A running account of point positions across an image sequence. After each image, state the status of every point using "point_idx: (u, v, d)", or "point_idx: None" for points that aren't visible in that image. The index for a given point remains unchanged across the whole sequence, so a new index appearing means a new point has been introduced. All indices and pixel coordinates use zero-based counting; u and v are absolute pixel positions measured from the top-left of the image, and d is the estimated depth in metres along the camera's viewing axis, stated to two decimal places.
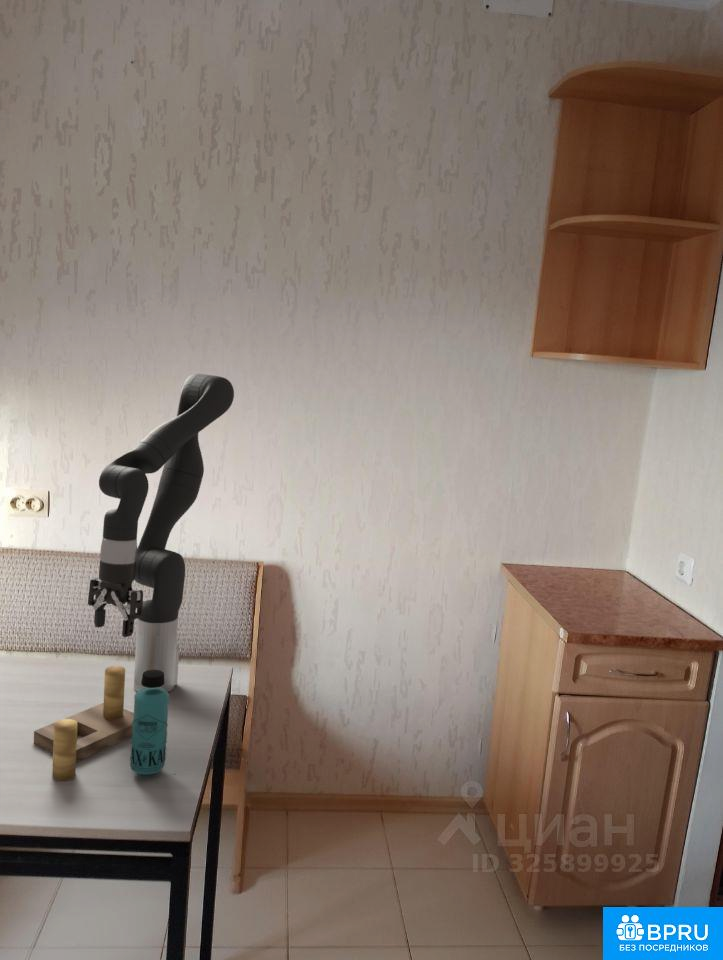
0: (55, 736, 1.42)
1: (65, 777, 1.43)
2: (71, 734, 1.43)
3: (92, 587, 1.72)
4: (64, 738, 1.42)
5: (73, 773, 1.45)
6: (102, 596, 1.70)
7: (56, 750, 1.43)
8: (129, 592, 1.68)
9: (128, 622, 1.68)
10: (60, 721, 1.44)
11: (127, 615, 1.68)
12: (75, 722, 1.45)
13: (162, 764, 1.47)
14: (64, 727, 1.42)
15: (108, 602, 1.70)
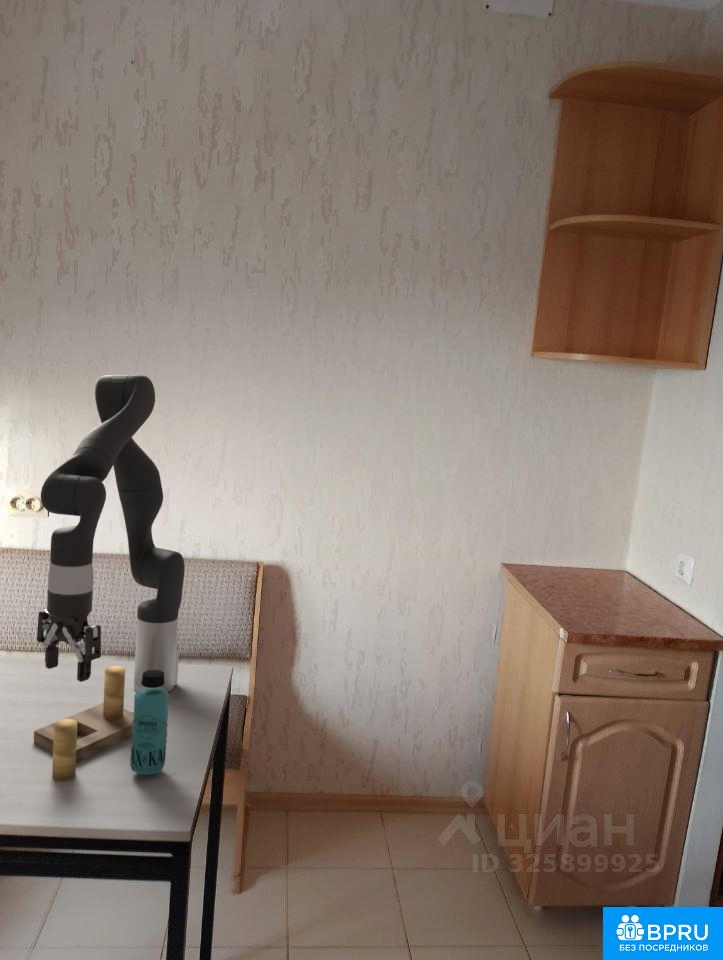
0: (55, 736, 1.42)
1: (65, 777, 1.43)
2: (71, 734, 1.43)
3: (41, 621, 1.43)
4: (64, 738, 1.42)
5: (73, 773, 1.45)
6: (52, 632, 1.41)
7: (55, 750, 1.43)
8: (84, 628, 1.38)
9: (84, 664, 1.39)
10: (60, 721, 1.44)
11: (82, 656, 1.38)
12: (75, 722, 1.45)
13: (162, 764, 1.47)
14: (64, 727, 1.42)
15: (60, 639, 1.41)
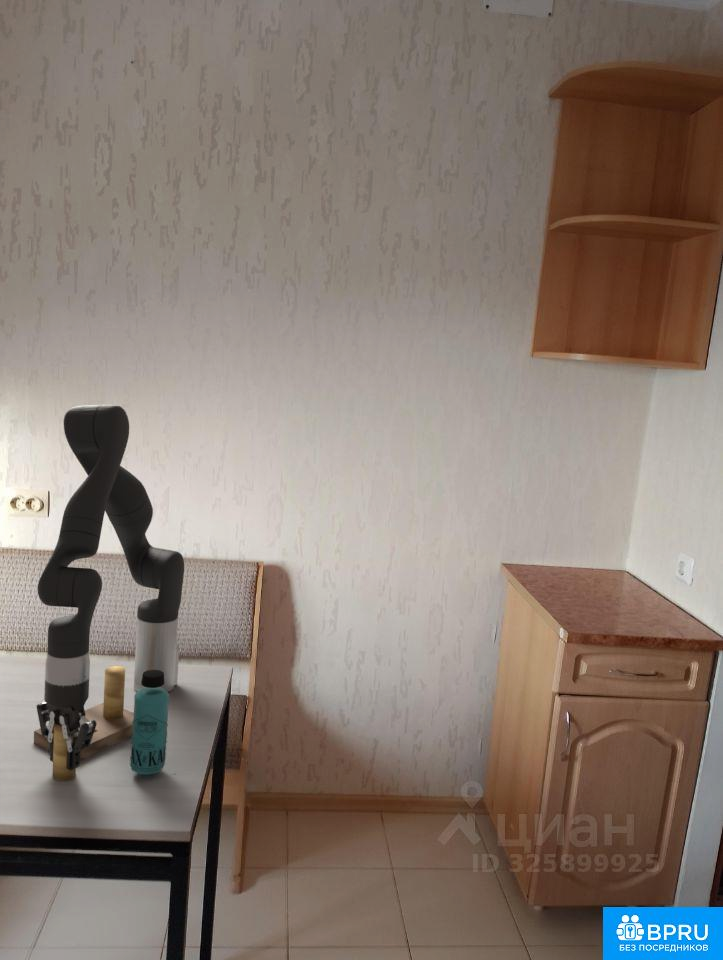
0: (55, 736, 1.42)
1: (65, 777, 1.43)
2: None
3: (40, 713, 1.45)
4: None
5: (73, 773, 1.45)
6: (52, 722, 1.43)
7: (56, 750, 1.43)
8: (80, 720, 1.41)
9: (73, 753, 1.42)
10: None
11: (72, 747, 1.42)
12: None
13: (162, 764, 1.47)
14: None
15: (61, 726, 1.43)
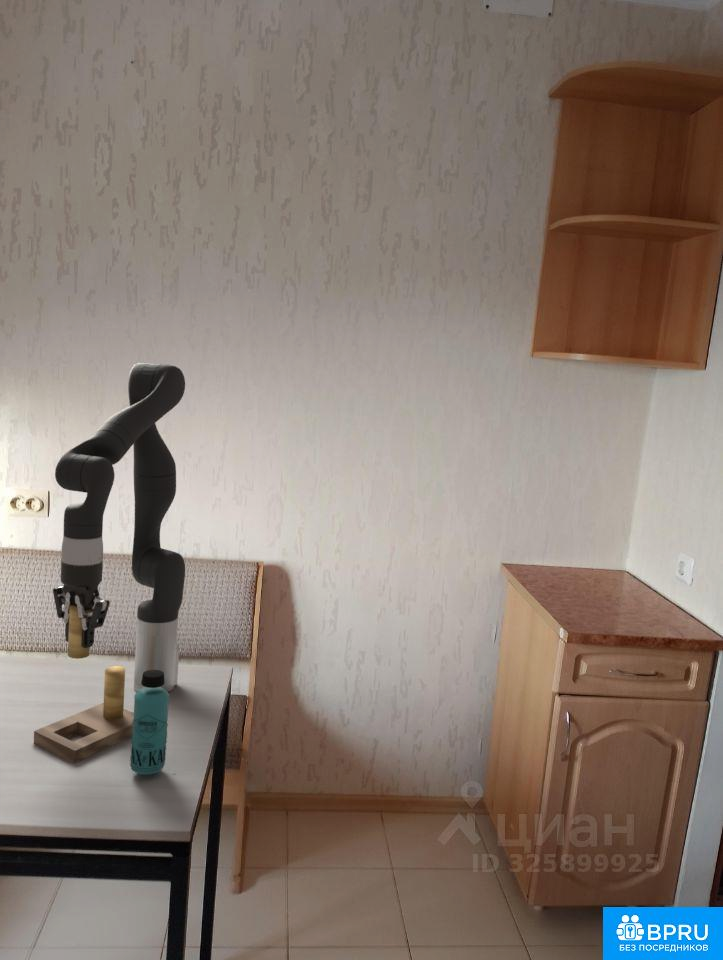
0: (71, 616, 1.51)
1: (80, 655, 1.52)
2: None
3: (57, 596, 1.54)
4: None
5: (87, 652, 1.54)
6: (67, 602, 1.52)
7: (71, 629, 1.52)
8: (95, 599, 1.50)
9: (87, 632, 1.51)
10: None
11: (87, 625, 1.51)
12: None
13: (162, 764, 1.47)
14: None
15: None
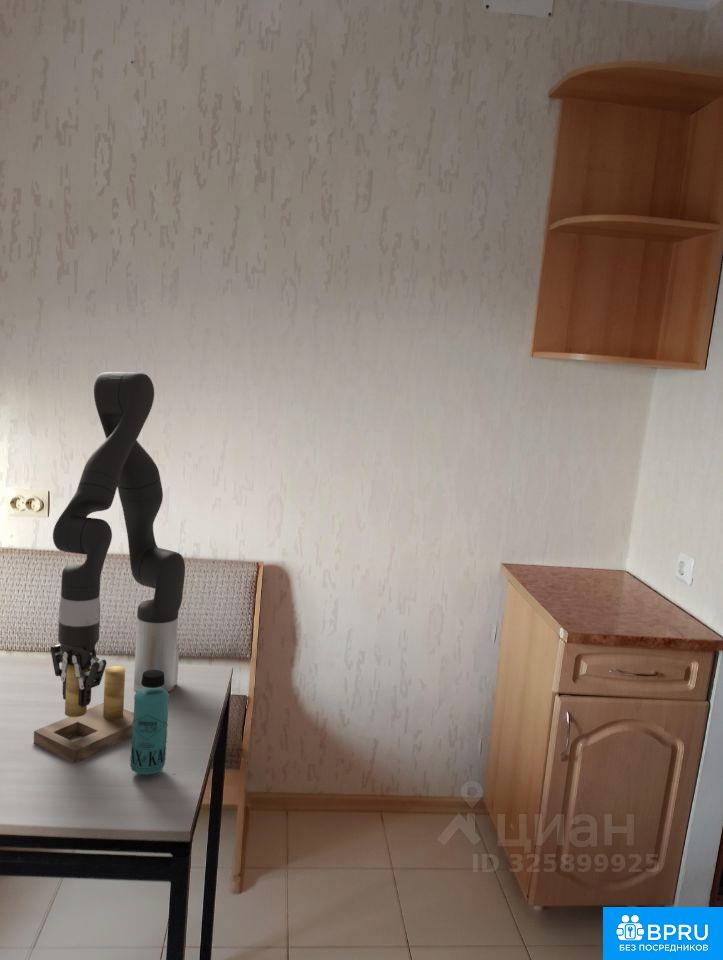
0: (68, 675, 1.53)
1: (77, 713, 1.54)
2: None
3: (54, 655, 1.56)
4: (76, 677, 1.53)
5: (84, 710, 1.55)
6: (65, 662, 1.54)
7: (68, 688, 1.53)
8: (91, 659, 1.51)
9: (84, 691, 1.53)
10: None
11: (84, 685, 1.52)
12: None
13: (162, 764, 1.47)
14: None
15: None
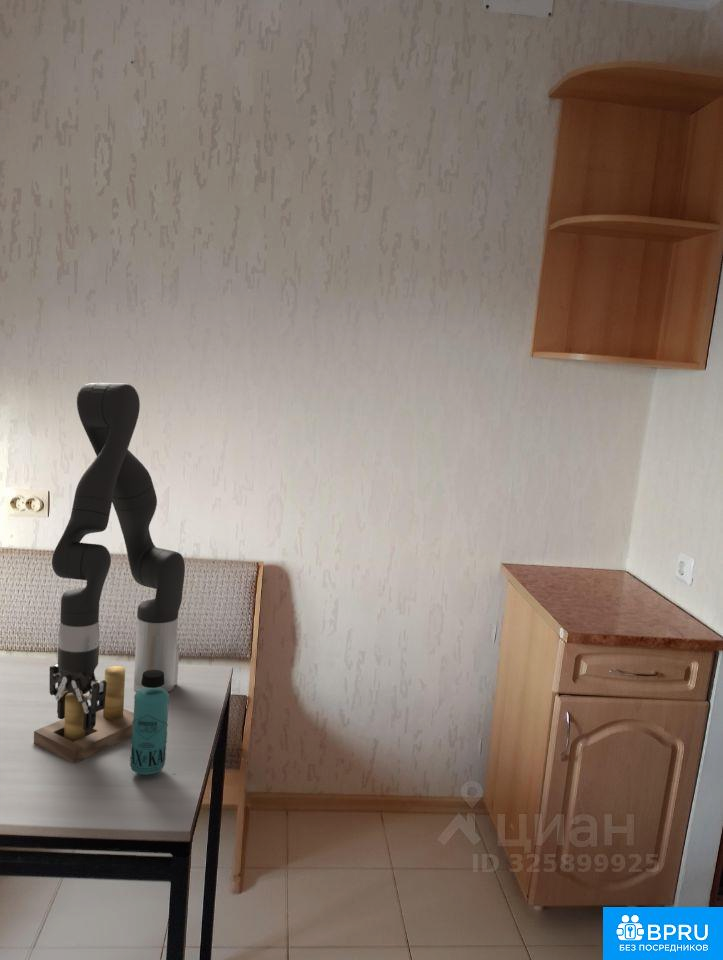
0: (66, 707, 1.54)
1: None
2: (81, 705, 1.54)
3: (52, 675, 1.57)
4: (75, 708, 1.54)
5: None
6: (63, 685, 1.55)
7: (67, 720, 1.54)
8: (91, 682, 1.52)
9: (89, 715, 1.53)
10: (71, 693, 1.56)
11: (88, 708, 1.52)
12: (84, 694, 1.56)
13: (162, 764, 1.47)
14: (74, 698, 1.54)
15: (70, 691, 1.55)
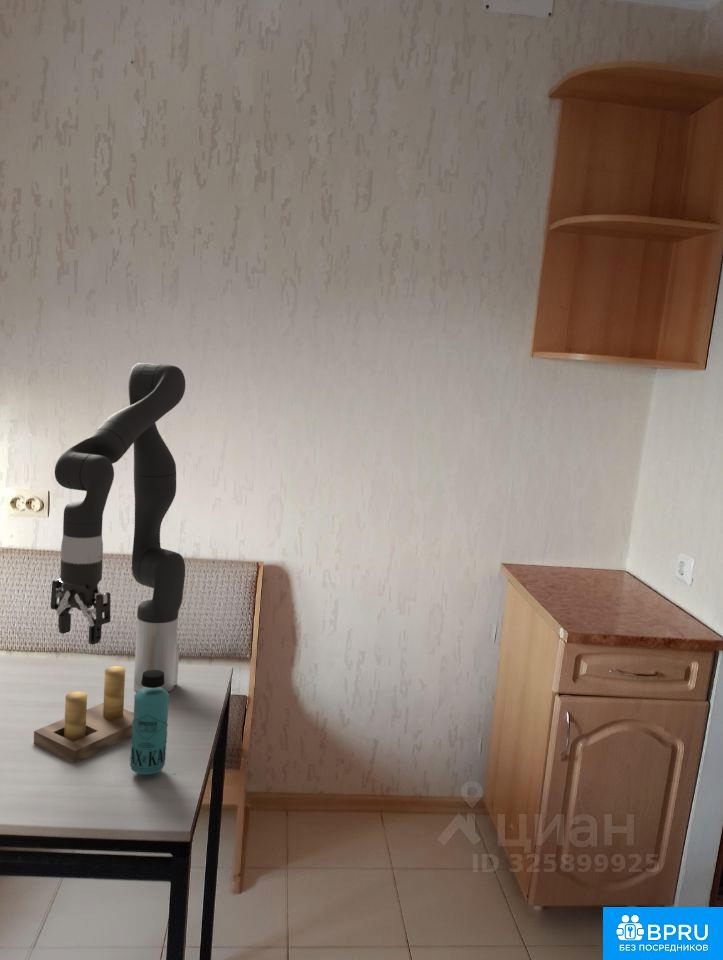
0: (67, 706, 1.54)
1: None
2: (82, 705, 1.54)
3: (54, 589, 1.54)
4: (75, 708, 1.54)
5: None
6: (65, 599, 1.52)
7: (67, 720, 1.54)
8: (95, 595, 1.50)
9: (95, 628, 1.50)
10: (71, 693, 1.56)
11: (93, 620, 1.50)
12: (85, 694, 1.56)
13: (162, 764, 1.47)
14: (75, 698, 1.54)
15: (72, 606, 1.52)
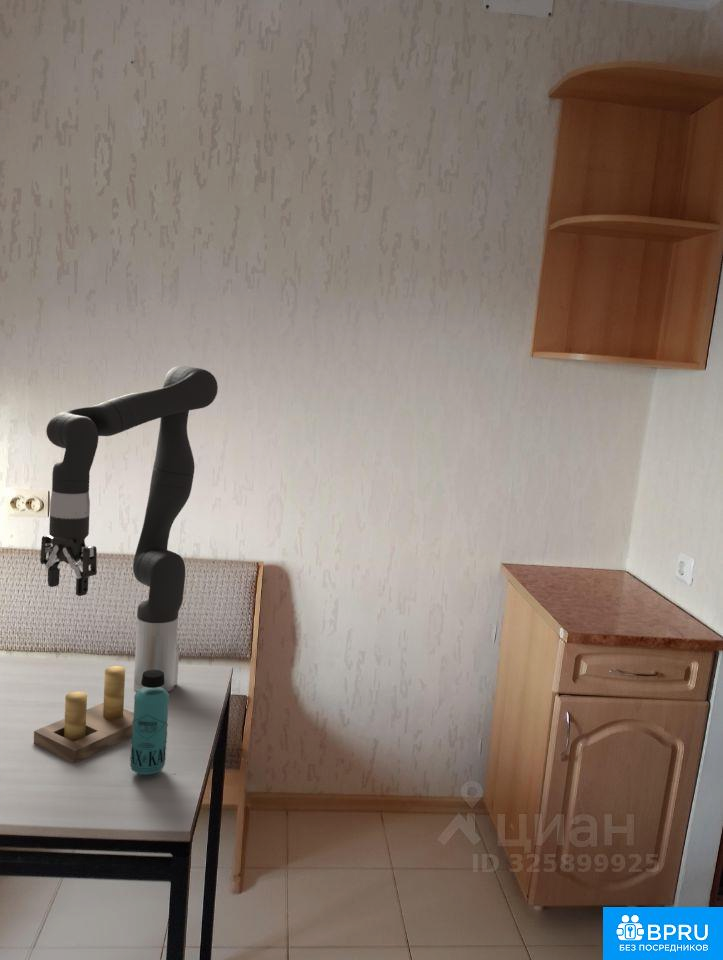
0: (66, 707, 1.54)
1: None
2: (82, 705, 1.54)
3: (44, 544, 1.63)
4: (75, 708, 1.54)
5: None
6: (54, 553, 1.60)
7: (67, 720, 1.54)
8: (82, 548, 1.58)
9: (82, 580, 1.58)
10: (71, 693, 1.56)
11: (80, 573, 1.58)
12: (85, 694, 1.56)
13: (162, 764, 1.47)
14: (75, 698, 1.54)
15: (61, 560, 1.61)
